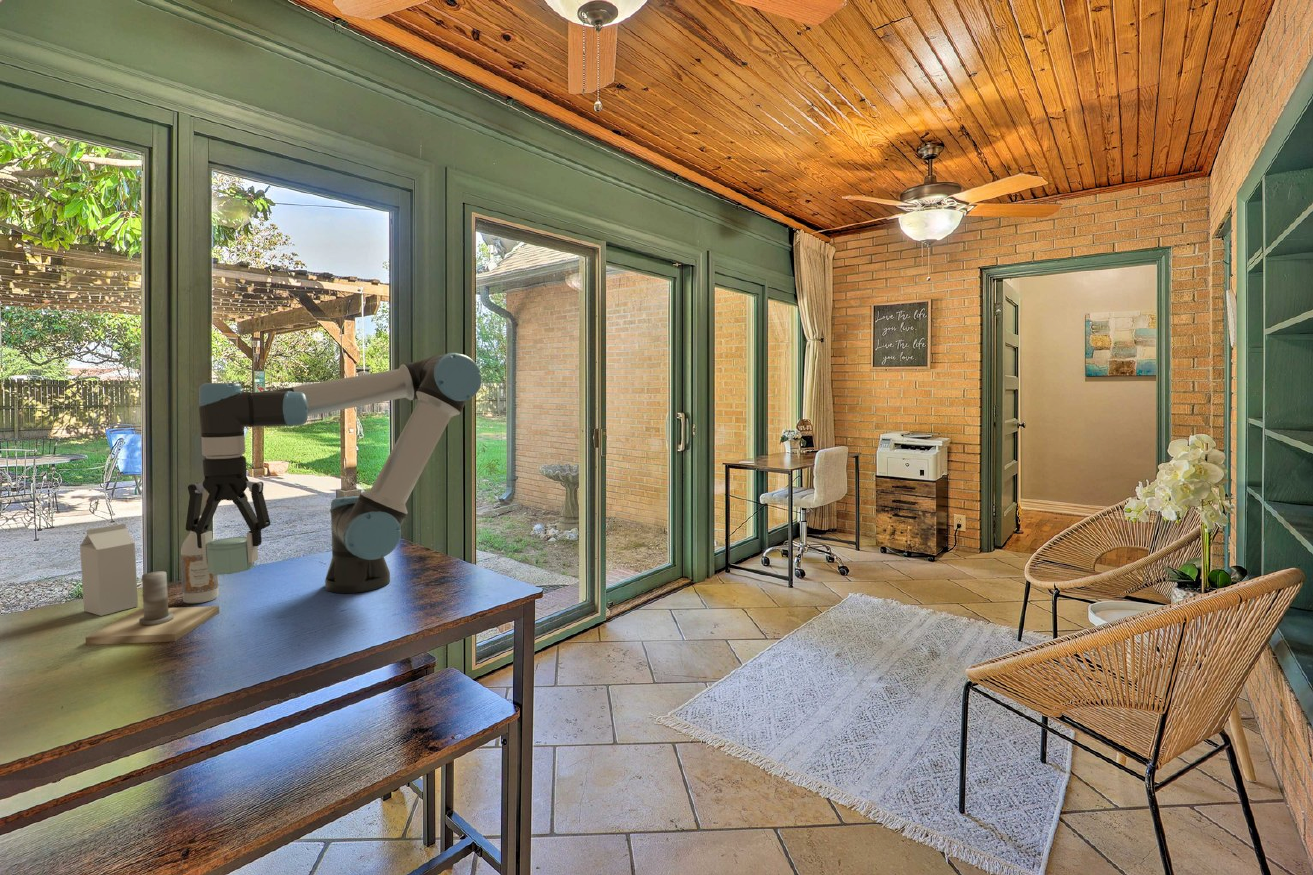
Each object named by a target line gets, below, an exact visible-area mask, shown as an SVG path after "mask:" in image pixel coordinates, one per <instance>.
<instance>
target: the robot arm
mask: <svg viewBox="0 0 1313 875" xmlns="http://www.w3.org/2000/svg"><path fill="white" fill-rule="evenodd" d="M481 386H482V373H481V369H480V368H479V366H478V364H477V363H476V362H475V361H474V360H473V359H472V358H471V357H469V356H467V355H466V354H463V353H462V354H461V353H458V352H449V353H445V354H438V355H432V356H429V357H426V358H423V359H421V360H418V361H417V360H416V361H413V362H410V363H409V362H408V363H403V364H400V366H399V367H398V368H397V369H391V370H385V371H379V372H373V373H366V374H361V375H355V376H350V377H349V376H348V377H344V378H339V379H337V378H336V379H333V380H332V379H331V380H326V381H325V380H324V381H320V382H314V383H308V384H303V385H302V384H301V385H295V386H291V387H285V388H278V389H273V390H270V389H269V390H263V391H257V392H256V391H252V392H250V391H244V390H243V388H242V387H243V386H242V384H241V383H239V382H204V383H202V384H201V385H200V386H199V387H198V412H199V424H200V434H201V435H200V436H201V454H202V456H203V457H204V459H203V460H202V469H203V470H202V471H203V473H202V474H203V475H204V479H203V482H196V483H192V484H188V486H187V490H188V493H189V499H188V505H187V513H186V514H187V516H186V523H185V530H186V531H187V532H191V531H193V532H195V533H196V534H197V546H198V548H202V557H203V565H207V564H208V561H207V547H206V544H207V543H209V542H211V541H213V540H214V539H213V531H212V530H210V525H211V523H212V520H213V518H214V515H215V513H216V511H217V508H218V506H219V504H220V503H221V501H224V500H225V501H230V502H231V501H232V502H233V504H234V505H236V507H237V509H238V511H239V512H240V514H241V516H242V518H243V520H244V521H245V523H246V525H247V527H248V528H249V531H248V532H246V537H247V549H248V563H253V562H254V563H255V562H256V561H258V560H259V551H258V550H259V549H258V547H259V546H261V545H262V544H263V542H262V530H263V529H265V528H268V527H270V526H271V518H270V515H269V511H268V508H267V504H266V500H265V496H264V487H265V486H264V485H265V484H264V482H263V481H258V482H256V481H251V480H250V479H248V477H247V471H248V470H247V469H248V468H247V458H246V457H245V455H244V454H245V453H246V442H245V439H246V438H245V428H254V427H257V428H258V427H287V426H288V427H293V426H303V425H305V424H306V423H307V421H308V417H309V416H315V415H321V414H326V413H332V412H336V411H341V410H345V409H352V408H359V407H362V406H363V407H364V406H367V405H373V404H378V403H384V402H388V401H394V400H399V399H404V398H405V399H407V400H409V401H415V400H418V402H417V404H416V405H415V407H414V409H413V410H412V413H411V415H410V416H409V418H408V420H407V422H406V424H405V425H404V427H403V429H402V431H401V432H400V435H399V437H398V438H397V439H396V442H395V444H394V446H393V447H392V449H391V451H390V453H389V455H388V456H387V458H386V461H385V462H384V464H383V466H382V468H381V469H380V472H379V473H378V475H377V476H376V478H375V481H374V482H373V485H371V488H370V489H368V490H365V491H362V492H361V493H360V495H355V496H344V497H342V496H341V497H336V498H335V497H334V498H333V499H332V500H331V502H330V509H329V512H330V522H331V554H332V555H331V561H330V564H329V567H328V569H327V572H326V576H325V579H324V583H325V585H324V586H325V590H326V591H328V592H331V593H336V594H354V593H355V594H357V593H362V592H363V593H364V592H370V591H373V590H377V589H380V588H383V587H386V586H387V585H388V584H389V583H390V582H391V572H390V569H389V566H388V563H387V562H386V558H385V557H387V556H388V555H390V554H391V553H393V551H394V550H395V549H396V548H397V547H398V545H399V543H400V540H401V537H402V527H401V526H402V525H403V523H404V521H405V519H406V517H407V515H408V514H409V513H408V509H407V506H406V503H407V502H408V499H409V497H410V496H411V494H412V492H413V490H414V488H415V486H416V484H417V482H418V481H419V478H420V476H421V474H422V473H423V471H424V469H425V467H426V465H427V464H428V461H429V460H430V458H431V456H432V454H433V452H434V450H435V448H436V446H437V444H438V442H439V441H440V439H441V436H442V435H443V433H444V431H445V429H446V427H447V426H448V423H449V422H450V420H451V419H452V418H453V417H455V416H459V415H460V414H461V412H462V411H463V408H464V407H465V405H466V403H467V401H469V400H471V399H472V398H473V397H474V396H476V395H477V394H478V392H479V390H480V389H481ZM249 480H250V481H249ZM247 488H248V491H249V492H250V493H251V495H250V496H251V499H252V500H251V501H252V503H253V504H252V505H253V508H254V509H253V508H252V506H251V504H250V502H249V501H248V499H249V498H248V496H247V494H246V492H245V491H246V490H247ZM204 491H206V492H207V493H208V497H207V499H206V501H205V506H204V509H203V511H202V513H201V509H202V501H203V493H204ZM254 510H255V511H254ZM200 515H201V518H200ZM199 518H200V520H199Z"/></svg>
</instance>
